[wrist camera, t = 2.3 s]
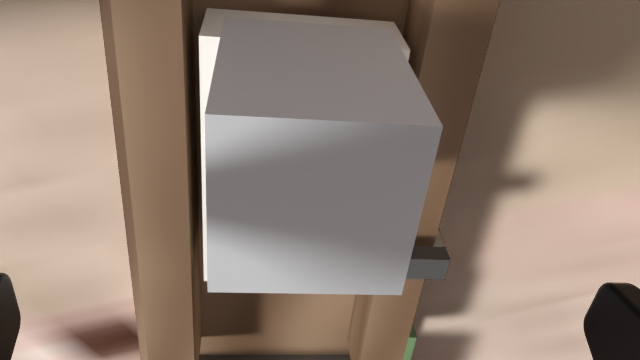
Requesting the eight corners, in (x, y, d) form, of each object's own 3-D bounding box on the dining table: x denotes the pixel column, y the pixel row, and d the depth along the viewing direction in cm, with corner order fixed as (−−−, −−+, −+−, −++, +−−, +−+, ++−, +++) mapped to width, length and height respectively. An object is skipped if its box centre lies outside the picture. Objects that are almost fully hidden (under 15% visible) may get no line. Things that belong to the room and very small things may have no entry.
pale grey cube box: (209, 236, 20) (184, 425, 14) (206, -11, 15) (167, 112, 9) (415, 242, 21) (476, 421, 15) (473, 10, 16) (596, 134, 10)
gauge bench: (149, 380, 26) (129, 478, 22) (87, -204, 14) (18, -206, 10) (385, 379, 27) (404, 472, 23) (521, -155, 15) (605, -140, 11)
